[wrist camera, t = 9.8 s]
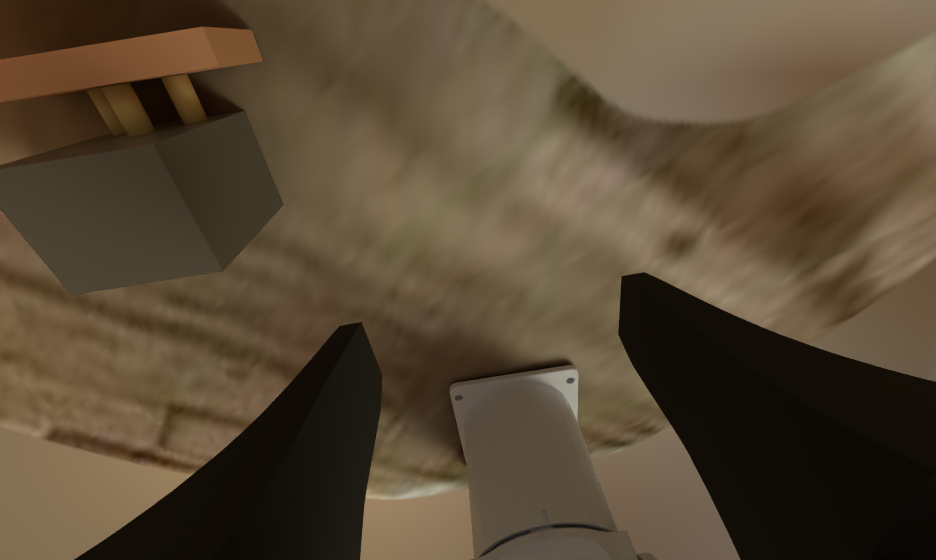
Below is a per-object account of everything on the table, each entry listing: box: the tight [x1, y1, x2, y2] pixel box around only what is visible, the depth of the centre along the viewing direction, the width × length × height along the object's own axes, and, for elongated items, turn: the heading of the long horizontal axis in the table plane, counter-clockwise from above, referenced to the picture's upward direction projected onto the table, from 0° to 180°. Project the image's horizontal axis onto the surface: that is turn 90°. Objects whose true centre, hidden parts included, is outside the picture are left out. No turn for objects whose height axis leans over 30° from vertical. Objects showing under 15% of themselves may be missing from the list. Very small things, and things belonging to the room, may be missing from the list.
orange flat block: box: [0, 27, 263, 103], centre depth 13 cm, size 1×8×4 cm, turn 98°
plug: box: [0, 74, 283, 295], centre depth 14 cm, size 6×5×6 cm
